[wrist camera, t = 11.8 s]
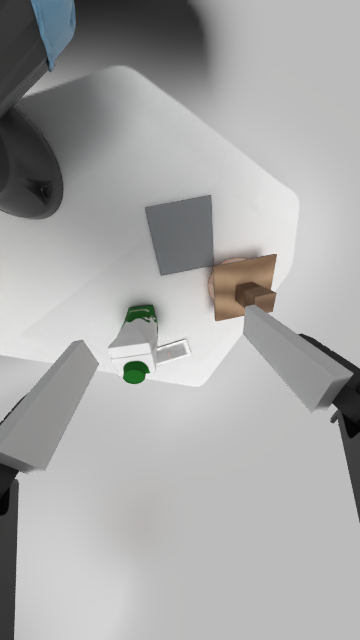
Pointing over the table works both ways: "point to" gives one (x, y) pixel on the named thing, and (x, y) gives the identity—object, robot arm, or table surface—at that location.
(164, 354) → the touchpad
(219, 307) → the cover board
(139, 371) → the milk carton
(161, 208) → the mat
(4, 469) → the robot arm
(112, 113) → the table surface
